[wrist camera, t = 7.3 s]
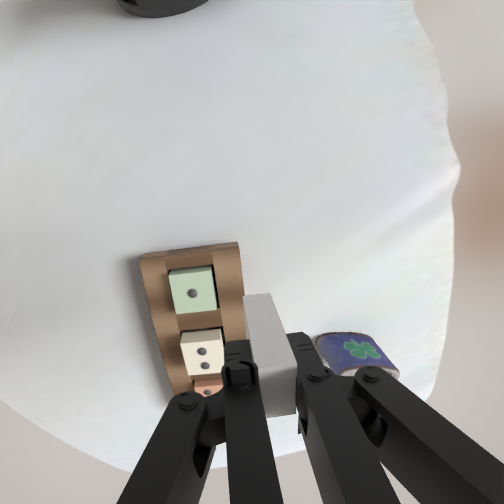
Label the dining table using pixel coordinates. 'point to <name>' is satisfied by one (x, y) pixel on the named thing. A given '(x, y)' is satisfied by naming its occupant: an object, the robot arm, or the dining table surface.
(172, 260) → the board
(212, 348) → the tile
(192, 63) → the dining table surface
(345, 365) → the flask
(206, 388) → the three-pip tile
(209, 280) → the tile
